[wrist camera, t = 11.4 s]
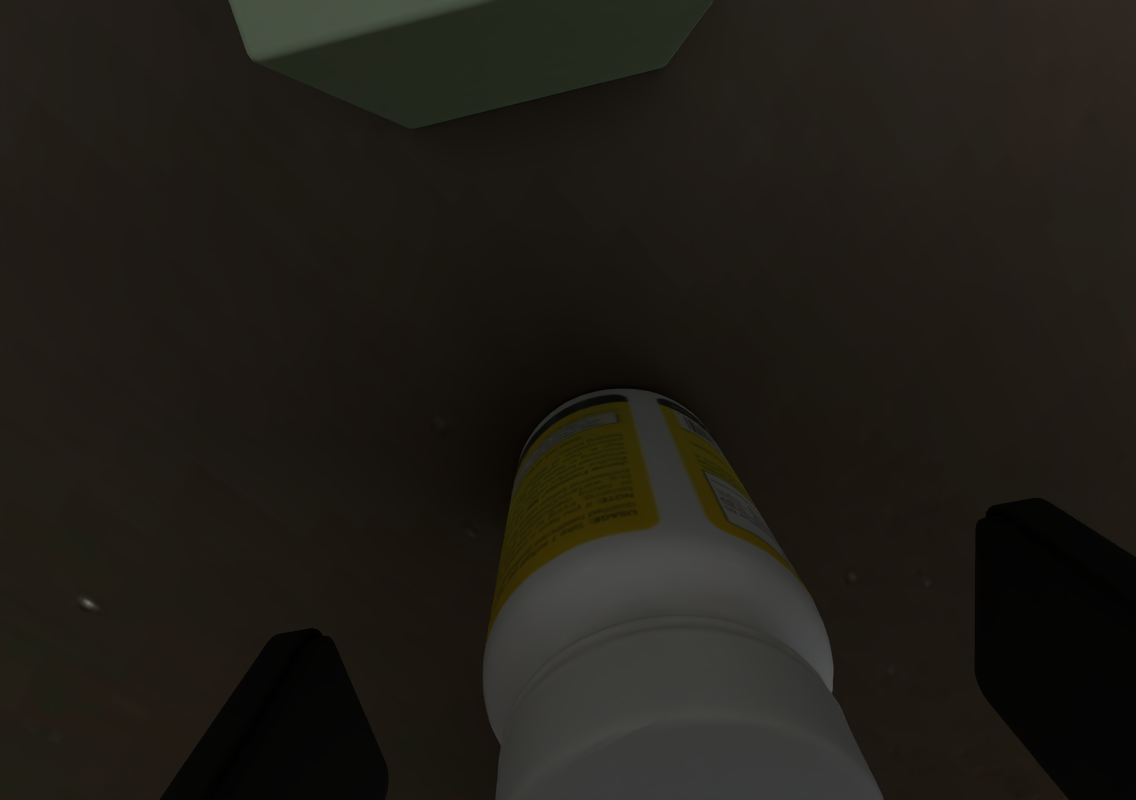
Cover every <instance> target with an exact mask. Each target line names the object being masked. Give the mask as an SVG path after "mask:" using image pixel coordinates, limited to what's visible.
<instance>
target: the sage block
mask: <svg viewBox="0 0 1136 800" xmlns="http://www.w3.org/2000/svg"><path fill="white" fill-rule="evenodd" d="M713 1H714V0H229V3H230V6H231V9H232V11H233V14H234V17H235V20H236V23H237V26H238V29H239V32H240V34H241V37H242V40H243V43H244V46H245V49H246V52H247V54H248V56H249V57H250V58H251V60H252V61H253V62H255V63H258V64H260V65H262V66H265V67H267V68H269V69H272V70H274V71H276V72H279V73H281V74H283V75H286V76H288V77H290V78H293V79H295V80H297V81H300V82H302V83H304V84H307V85H309V86H311V87H314V88H316V89H318V90H320V91H323V92H325V93H327V94H330V95H332V96H334V97H337V98H339V99H341V100H344V101H346V102H348V103H351V104H353V105H355V106H358V107H360V108H362V109H365V110H367V111H369V112H372V113H374V114H376V115H379V116H381V117H383V118H386V119H388V120H390V121H393V122H395V123H397V124H400V125H402V126H404V127H407V128H409V129H416V128H420V127H424V126H428V125H432V124H436V123H440V122H444V121H448V120H452V119H456V118H460V117H464V116H468V115H473V114H477V113H481V112H485V111H489V110H493V109H497V108H501V107H505V106H509V105H513V104H517V103H521V102H526V101H530V100H534V99H538V98H542V97H546V96H550V95H554V94H558V93H562V92H566V91H570V90H574V89H578V88H583V87H587V86H591V85H595V84H599V83H603V82H607V81H611V80H615V79H619V78H623V77H627V76H631V75H635V74H640V73H644V72H648V71H652V70H656V69H660V68H663V67H665V66H666V65H667V64H668V62H669V61H670V60H671V58H672V57H673V55H674V54H675V53H676V51H677V50H678V49H679V47H680V46H681V45H682V43H683V42H684V41H685V39H686V38H687V36H688V35H689V34H690V32H691V31H692V30H693V28H694V27H695V26H696V24H697V23H698V21H699V20H700V19H701V17H702V16H703V15H704V13H705V12H706V11H707V9H708V8H709V7H710V5H711V4H712V2H713Z"/></svg>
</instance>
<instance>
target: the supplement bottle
mask: <svg viewBox="0 0 1136 800" xmlns="http://www.w3.org/2000/svg"><path fill="white" fill-rule="evenodd" d="M832 689H833V660H832V654H831V648H830V643H829V639H828V636H827V633H826V630H825V627H824V624H823V621H822V619H821V616H820V614H819V612H818V610H817V607H816V605H815V603H814V601H813V599H812V597H811V595H810V593H809V592H808V590H807V589H806V587H805V586H804V584H803V583H802V581H801V580H800V578H799V576H798V575H797V573H796V571H795V570H794V568H793V566H792V565H791V564H790V562H789V560H788V559H787V557H786V555H785V554H784V552H783V551H782V549H781V547H780V546H779V544H778V543H777V541H776V539H775V538H774V536H773V534H772V533H771V531H770V529H769V528H768V526H767V525H766V523H765V521H764V520H763V518H762V516H761V515H760V513H759V511H758V510H757V508H756V506H755V505H754V503H753V502H752V500H751V498H750V497H749V495H748V493H747V492H746V490H745V488H744V487H743V485H742V483H741V482H740V480H739V479H738V477H737V475H736V474H735V472H734V471H733V469H732V467H731V466H730V464H729V463H728V461H727V459H726V458H725V456H724V455H723V453H722V451H721V450H720V448H719V446H718V444H717V443H716V441H715V440H714V438H713V437H712V435H711V434H710V432H709V431H708V429H707V428H706V427H705V426H704V424H703V423H702V422H701V421H700V420H699V419H698V418H697V417H696V416H695V415H694V414H693V413H692V412H690V411H689V410H688V409H686V408H685V407H684V406H682V405H680V404H679V403H677V402H675V401H674V400H672V399H669V398H667V397H665V396H662V395H659V394H657V393H653V392H649V391H644V390H638V389H608V390H601V391H596V392H592V393H588V394H585V395H581V396H579V397H577V398H574V399H572V400H570V401H568V402H566V403H564V404H563V405H561V406H560V407H558V408H557V409H555V410H554V411H553V412H551V413H550V414H549V415H548V416H547V417H546V418H545V419H544V420H543V421H542V422H541V423H540V424H539V425H538V426H537V428H536V429H535V430H534V431H533V433H532V434H531V436H530V437H529V439H528V441H527V443H526V444H525V446H524V448H523V451H522V453H521V456H520V459H519V462H518V466H517V470H516V474H515V478H514V483H513V490H512V496H511V502H510V507H509V513H508V519H507V524H506V530H505V536H504V541H503V547H502V553H501V559H500V564H499V570H498V576H497V582H496V587H495V593H494V599H493V605H492V611H491V617H490V622H489V627H488V633H487V640H486V645H485V651H484V660H483V692H484V699H485V705H486V709H487V713H488V717H489V721H490V724H491V727H492V729H493V731H494V734H495V735H496V737H497V739H498V741H499V743H500V745H501V751H500V757H499V763H498V779H497V787H496V799H495V800H884V799H883V796H882V794H881V791H880V789H879V787H878V785H877V783H876V781H875V779H874V777H873V775H872V773H871V771H870V769H869V767H868V765H867V763H866V761H865V759H864V757H863V755H862V753H861V751H860V749H859V747H858V745H857V743H856V741H855V739H854V737H853V735H852V733H851V730H850V728H849V726H848V723H847V721H846V718H845V716H844V714H843V711H842V709H841V707H840V705H839V704H838V702H837V701H836V699H835V698H834V696H833V695H832Z"/></svg>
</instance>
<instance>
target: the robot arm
mask: <svg viewBox="0 0 1136 800" xmlns="http://www.w3.org/2000/svg"><path fill="white" fill-rule="evenodd" d="M975 675H976V679H977V682H978V685H979V687H980V689H981V691H982V693H983V695H984V696H985V698H986V699H987V701H988V702H989V703H990V704H991V706H992V707H993V708H994V709H995V711H996V712H997V713H998V714H999V715H1000V717H1001V718H1002V719H1003V720H1004V721H1005V723H1006V724H1007V725H1008V726H1009V728H1010V729H1011V730H1012V731H1013V732H1014V734H1015V735H1016V736H1017V737H1018V738H1019V740H1020V741H1021V742H1022V743H1023V745H1024V746H1025V747H1026V748H1027V749H1028V751H1029V752H1030V753H1031V754H1032V755H1033V757H1034V758H1035V759H1036V760H1037V762H1038V763H1039V764H1040V765H1041V766H1042V768H1043V769H1044V770H1045V771H1046V772H1047V774H1048V775H1049V776H1050V777H1051V779H1052V780H1053V781H1054V782H1055V783H1056V785H1057V786H1058V787H1059V788H1060V789H1061V791H1062V792H1063V793H1064V794H1065V796H1066V797H1067V798H1068V799H1069V800H1136V557H1134V556H1133V555H1131V554H1130V553H1128V552H1126V551H1125V550H1123V549H1122V548H1120V547H1119V546H1117V545H1116V544H1114V543H1112V542H1111V541H1109V540H1108V539H1106V538H1105V537H1103V536H1101V535H1100V534H1098V533H1097V532H1095V531H1094V530H1092V529H1090V528H1089V527H1087V526H1086V525H1084V524H1083V523H1081V522H1080V521H1078V520H1076V519H1075V518H1073V517H1072V516H1070V515H1069V514H1067V513H1065V512H1064V511H1062V510H1061V509H1059V508H1058V507H1056V506H1055V505H1053V504H1051V503H1050V502H1048V501H1046V500H1044V499H1042V498H1031V499H1026V500H1020V501H1015V502H1009V503H1004V504H998V505H993V506H992V507H990V508H989V509H988V511H987V512H986V517H985V518H982V519H980V520H979V521H978V522H977V524H976V554H975ZM387 789H388V769H387V765H386V762H385V760H384V758H383V755H382V753H381V751H380V748H379V746H378V744H377V741H376V739H375V737H374V734H373V732H372V730H371V727H370V725H369V723H368V720H367V718H366V716H365V713H364V711H363V709H362V706H361V704H360V702H359V699H358V697H357V695H356V692H355V690H354V688H353V685H352V683H351V681H350V678H349V676H348V674H347V671H346V669H345V667H344V664H343V662H342V660H341V657H340V655H339V653H338V650H337V648H336V646H335V643H334V642H333V640H332V639H331V638H330V637H329V636H323V635H322V634H321V632H320V631H318V630H317V629H314V628H310V629H304V630H299V631H293V632H287V633H282V634H277V635H275V636H273V637H272V638H271V639H270V640H269V641H268V642H267V644H266V645H265V647H264V648H263V650H262V651H261V653H260V654H259V656H258V657H257V658H256V660H255V661H254V663H253V664H252V666H251V667H250V669H249V670H248V672H247V673H246V674H245V676H244V677H243V679H242V680H241V682H240V683H239V685H238V686H237V688H236V689H235V690H234V692H233V693H232V695H231V696H230V698H229V699H228V701H227V702H226V704H225V705H224V706H223V708H222V709H221V711H220V712H219V714H218V715H217V717H216V718H215V720H214V721H213V722H212V724H211V725H210V727H209V728H208V730H207V731H206V733H205V734H204V736H203V737H202V738H201V740H200V741H199V743H198V744H197V746H196V747H195V749H194V750H193V752H192V753H191V754H190V756H189V757H188V759H187V760H186V762H185V763H184V765H183V766H182V768H181V769H180V770H179V772H178V773H177V775H176V776H175V778H174V779H173V781H172V782H171V784H170V785H169V786H168V788H167V789H166V791H165V792H164V794H163V795H162V797H161V798H160V800H385V797H386V794H387Z"/></svg>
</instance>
